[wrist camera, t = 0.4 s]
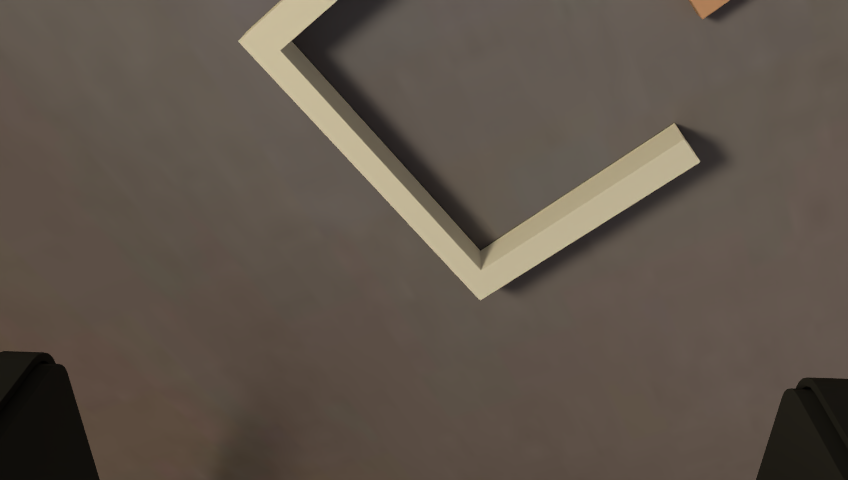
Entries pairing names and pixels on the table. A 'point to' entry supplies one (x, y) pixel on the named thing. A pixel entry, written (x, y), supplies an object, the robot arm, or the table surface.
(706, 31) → the table surface
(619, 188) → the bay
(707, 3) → the tile
